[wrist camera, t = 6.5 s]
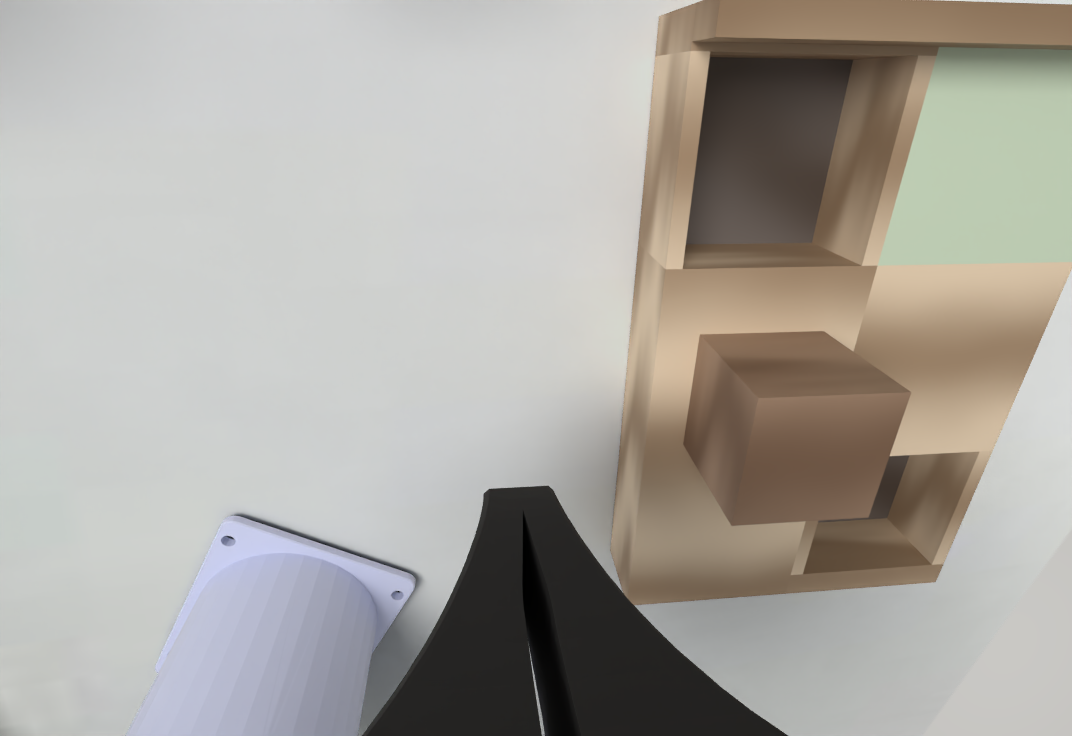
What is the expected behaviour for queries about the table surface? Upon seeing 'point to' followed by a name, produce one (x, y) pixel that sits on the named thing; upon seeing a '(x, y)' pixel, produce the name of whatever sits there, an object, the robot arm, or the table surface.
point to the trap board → (812, 282)
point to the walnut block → (790, 426)
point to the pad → (988, 162)
